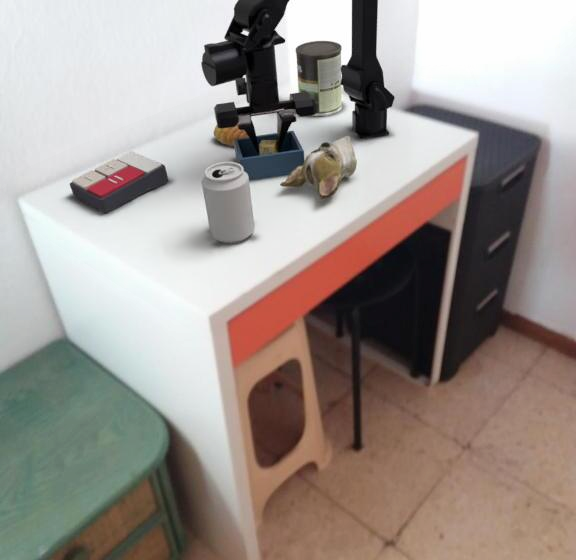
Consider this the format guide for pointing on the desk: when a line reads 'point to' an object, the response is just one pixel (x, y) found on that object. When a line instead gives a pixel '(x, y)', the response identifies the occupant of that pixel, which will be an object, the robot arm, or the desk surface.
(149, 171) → the multicoloured piece
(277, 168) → the blue open box
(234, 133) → the pastry
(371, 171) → the desk surface
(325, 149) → the ceramic sculpture
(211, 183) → the can
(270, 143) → the alphabet block
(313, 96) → the coffee can
